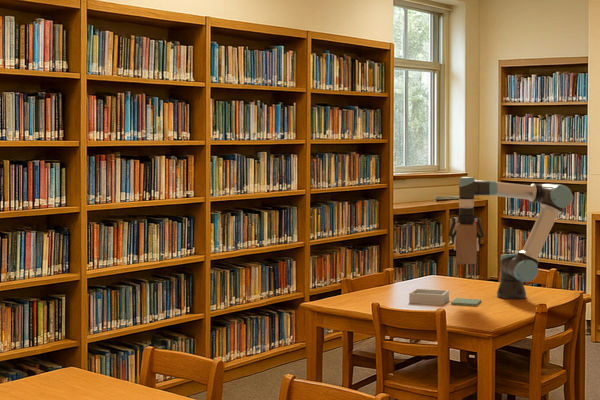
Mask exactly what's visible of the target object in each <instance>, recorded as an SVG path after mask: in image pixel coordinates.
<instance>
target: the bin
mask: <svg viewBox="0 0 600 400" xmlns="http://www.w3.org/2000/svg"><path fill="white" fill-rule="evenodd" d="M408 294H409V296H408V298H409V299H408V301H409V302H408V303H411V304H426V305H441V306H443V305H445V304H446V303H447V302H448V301H450V290H445V289H444V290H443V289H429V288H428V289H427V288H415V289H413V290H412V291H410V292H409V293H408Z"/></svg>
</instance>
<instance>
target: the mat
mask: <svg viewBox="0 0 600 400" xmlns="http://www.w3.org/2000/svg"><path fill="white" fill-rule="evenodd" d="M481 303H482V299H477V298H476V299H475V298H464V297H463V298H462V297H456V298H454V299H453V300H452V301H451V302H450V305H452V306H467V307H468V306H469V307H478V306H479V305H480V304H481Z"/></svg>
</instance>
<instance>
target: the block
mask: <svg viewBox="0 0 600 400" xmlns="http://www.w3.org/2000/svg"><path fill="white" fill-rule="evenodd" d="M477 226H478V224H476V223H475V222H473V225H470V224H460V222H458V223H457V224H456V225H455V228H456V229H455V230H456V236H455V237H456V250H455V251H456V255H455V256H456V258H455V262H456V264H458V265H476V264H477V252H478V251H477V238H478V237H477V230H478V229H477Z"/></svg>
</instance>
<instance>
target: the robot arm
mask: <svg viewBox="0 0 600 400" xmlns="http://www.w3.org/2000/svg"><path fill="white" fill-rule="evenodd" d="M458 180H459V181H458V190H459V191H458V193H459V195H458V196H459V198H458V207H459V208H458V217H455V216H454V217H452V223H451V226H450V229H449V232H448V237H451V243H452V245H453V251H456V229H455V228H456V225H457V224H456V223H457V222H458V221H459V223H460V224H470V225H473V223H475V222H476V223H477V224H476V225H477V226H478V229H479V230H478V229H477V252H479V251H480V245H481V244H482V238H484V237H485V232H484V229H483V226H482V223H481V217H475V208H474V207H475V196H489V197H490V196H491V197H500V198H502V197H503V198H510V199H512V198H513V199H520V200H528V201H530V202H531V203H538V204H540V207H541V210H540V211H539V213H538V216H537V217H536V220H535V222H534V224H533V227H532V228H531V231H530V233H529V235H528V238H527V239H526V240H525V241H526V242H525V244H524V246H523V248H522V250H519V251H517V253H505V254H504V253H503V254H501V255H500V260H499V262H500V263H499V264H500V266H499V267H500V268H499V270H500V273H499V274H500V281H499V286H498V287H497V290H496V297H498V298H502V299H511V300H516V299H517V300H518V299H525V298H527V292H526V288H525V285H524V283H528V282H532V281H533V280H535V278H536V277H538V274H539V268H538V265H539V263H540V259H539V256H540V254H541V251H542V250H543V248H544V245H545V243H546V240H547V239H548V237H549V234H550V231H551V230H552V228H553V226H554V224H555V222H556V219H557V217H558V216H559V215H561V214H563V212H564V210H565V208H567V207H568V206H570V205H571V204H572V201H573V193H572V191H571V189H570V188H569V187H568V186H566V185H563V184H560V183H531V184H530V185H529V184H520V183H510V182H502V181H496V180H480V179H475V178H474V177H472V176H462V177H460V178H459V179H458Z"/></svg>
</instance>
